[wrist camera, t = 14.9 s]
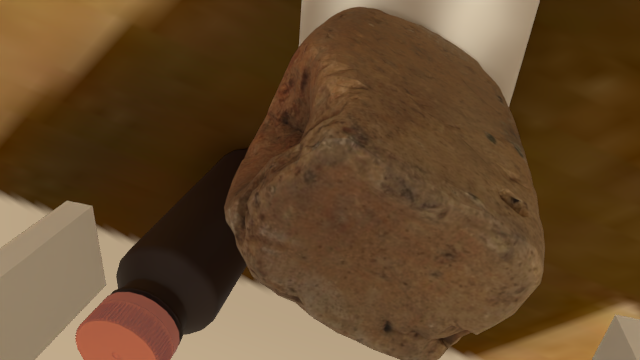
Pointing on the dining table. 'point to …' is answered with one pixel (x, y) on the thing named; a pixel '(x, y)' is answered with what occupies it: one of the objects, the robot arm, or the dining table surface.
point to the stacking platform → (453, 27)
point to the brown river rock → (389, 189)
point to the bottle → (170, 277)
